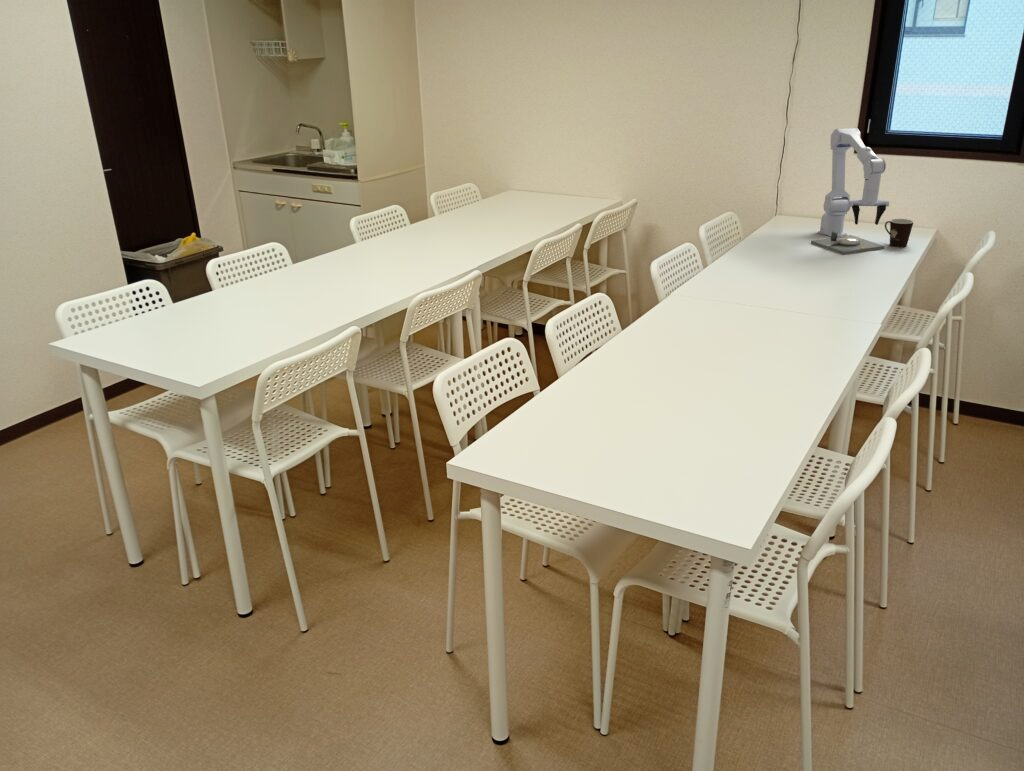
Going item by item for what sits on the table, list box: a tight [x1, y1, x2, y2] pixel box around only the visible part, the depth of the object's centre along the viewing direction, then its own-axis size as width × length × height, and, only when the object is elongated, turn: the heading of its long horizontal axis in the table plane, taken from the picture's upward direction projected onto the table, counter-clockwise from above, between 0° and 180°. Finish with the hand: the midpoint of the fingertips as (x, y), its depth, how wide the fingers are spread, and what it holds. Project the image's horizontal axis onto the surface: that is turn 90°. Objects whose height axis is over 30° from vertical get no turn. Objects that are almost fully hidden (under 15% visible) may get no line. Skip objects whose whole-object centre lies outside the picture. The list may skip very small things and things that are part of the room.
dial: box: [830, 232, 862, 246], centre depth 339 cm, size 13×10×5 cm
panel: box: [810, 234, 885, 256], centre depth 340 cm, size 20×20×2 cm
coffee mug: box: [884, 218, 915, 248], centre depth 338 cm, size 12×9×10 cm
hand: (866, 224), depth 333 cm, fingers open, 7 cm apart
